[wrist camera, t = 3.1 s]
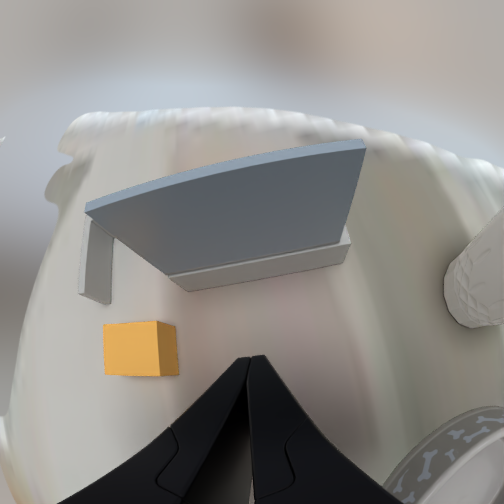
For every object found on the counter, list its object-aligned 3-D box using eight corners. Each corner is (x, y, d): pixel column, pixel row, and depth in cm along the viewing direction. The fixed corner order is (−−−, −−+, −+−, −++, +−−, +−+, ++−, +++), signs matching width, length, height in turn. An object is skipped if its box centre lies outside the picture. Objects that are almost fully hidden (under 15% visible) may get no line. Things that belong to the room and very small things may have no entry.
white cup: (442, 342, 18) (521, 322, 9) (429, 251, 21) (488, 189, 12) (504, 326, 17) (577, 300, 8) (490, 247, 20) (549, 195, 11)
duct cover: (336, 235, 18) (339, 243, 18) (166, 268, 19) (167, 276, 19) (361, 137, 10) (366, 148, 10) (86, 202, 11) (84, 213, 11)
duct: (342, 263, 22) (351, 243, 18) (104, 304, 24) (77, 293, 20) (318, 182, 25) (320, 154, 21) (108, 230, 27) (86, 212, 23)
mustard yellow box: (179, 374, 21) (160, 376, 17) (128, 374, 21) (105, 374, 18) (175, 326, 22) (156, 320, 19) (126, 330, 23) (103, 324, 19)
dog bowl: (414, 573, 7) (428, 595, 3) (331, 505, 14) (338, 538, 10) (530, 465, 9) (557, 472, 4) (481, 370, 16) (518, 367, 11)
